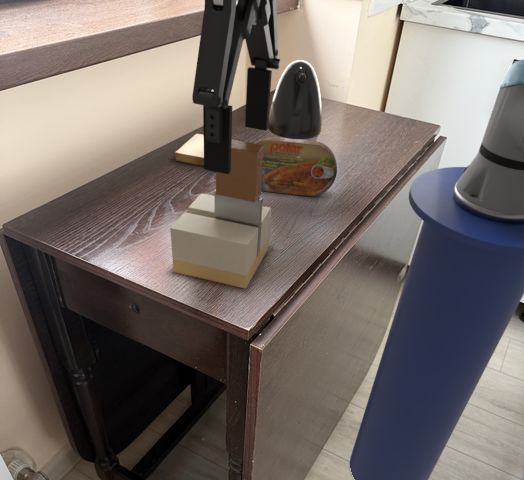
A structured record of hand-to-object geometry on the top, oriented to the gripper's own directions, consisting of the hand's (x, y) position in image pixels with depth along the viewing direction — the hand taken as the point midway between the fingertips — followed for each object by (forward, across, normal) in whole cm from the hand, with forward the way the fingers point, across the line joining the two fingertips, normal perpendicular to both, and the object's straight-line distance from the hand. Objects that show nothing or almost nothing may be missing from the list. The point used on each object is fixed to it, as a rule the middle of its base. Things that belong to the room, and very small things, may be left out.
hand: (238, 147), depth 58 cm
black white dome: (+16, -42, -3) cm, 45 cm away
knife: (+14, 0, 0) cm, 14 cm away
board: (+16, -32, -15) cm, 39 cm away
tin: (+16, -24, +1) cm, 29 cm away
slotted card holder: (+16, 0, -2) cm, 16 cm away
